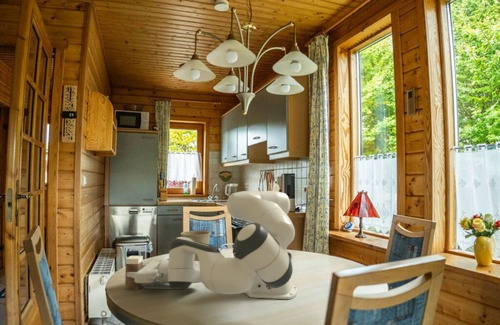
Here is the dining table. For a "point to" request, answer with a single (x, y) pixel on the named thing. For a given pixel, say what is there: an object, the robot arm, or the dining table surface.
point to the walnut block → (133, 265)
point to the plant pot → (197, 237)
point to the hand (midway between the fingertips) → (132, 270)
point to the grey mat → (159, 285)
